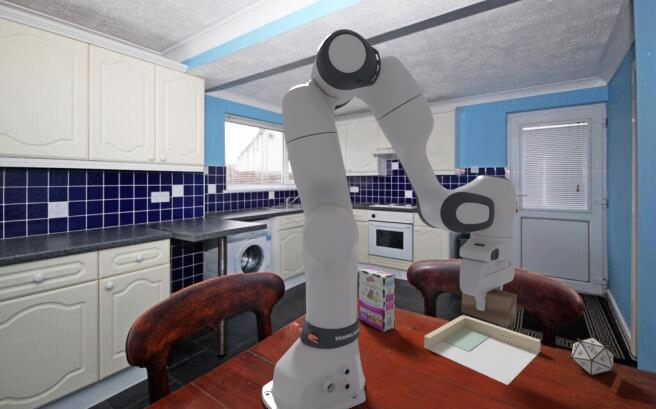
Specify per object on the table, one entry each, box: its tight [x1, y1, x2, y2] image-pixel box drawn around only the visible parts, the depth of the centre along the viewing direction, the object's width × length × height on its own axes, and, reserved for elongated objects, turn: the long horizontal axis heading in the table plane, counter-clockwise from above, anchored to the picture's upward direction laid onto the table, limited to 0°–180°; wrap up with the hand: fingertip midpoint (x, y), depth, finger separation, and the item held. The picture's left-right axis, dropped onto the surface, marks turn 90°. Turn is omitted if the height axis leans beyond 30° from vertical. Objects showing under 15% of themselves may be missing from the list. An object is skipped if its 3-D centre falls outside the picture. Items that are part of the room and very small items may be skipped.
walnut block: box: [460, 289, 518, 328], centre depth 73 cm, size 5×10×6 cm, turn 40°
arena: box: [423, 314, 541, 386], centre depth 80 cm, size 20×20×4 cm
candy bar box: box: [358, 267, 396, 333], centre depth 96 cm, size 11×5×16 cm, turn 36°
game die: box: [567, 333, 618, 376], centre depth 71 cm, size 9×8×10 cm
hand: (487, 306), depth 73 cm, fingers closed on walnut block, 5 cm apart
